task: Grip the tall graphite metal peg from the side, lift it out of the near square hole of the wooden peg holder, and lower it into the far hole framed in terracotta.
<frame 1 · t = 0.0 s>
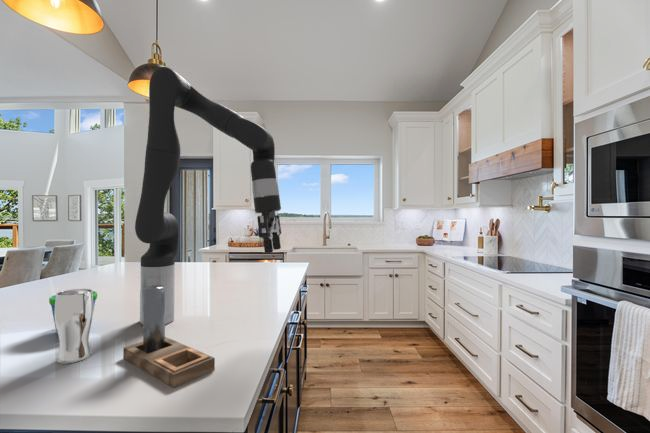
hand: (273, 250, 95), 22 cm above the countertop, tool pointing down, fingers open, 8 cm apart
metal peg: (154, 356, 75), resting in wooden peg holder
snack cup: (73, 332, 90), on the countertop
wooden peg holder: (167, 363, 71), on the countertop
beer glass: (74, 358, 74), on the countertop
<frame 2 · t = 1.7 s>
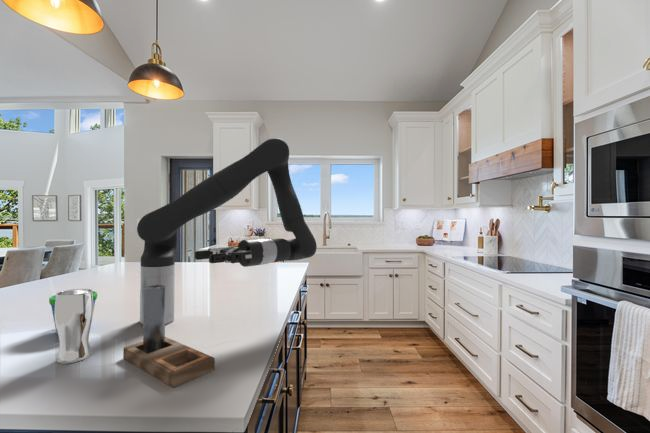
hand: (202, 257, 82), 22 cm above the countertop, tool horizontal, fingers open, 8 cm apart
nothing on the countertop moved.
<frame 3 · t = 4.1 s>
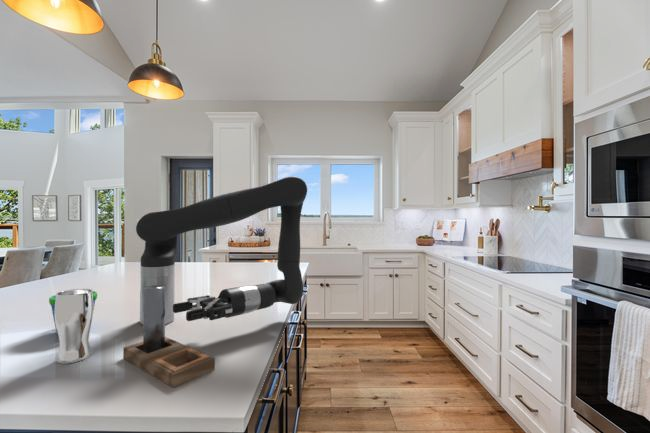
hand: (179, 312, 78), 9 cm above the countertop, tool horizontal, fingers open, 8 cm apart
nothing on the countertop moved.
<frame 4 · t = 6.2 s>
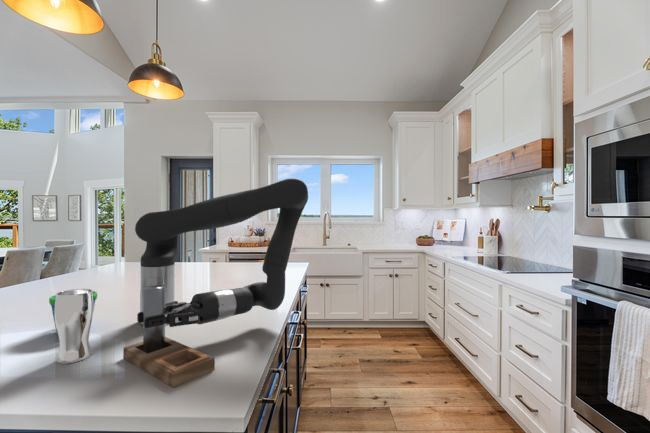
hand: (141, 320, 73), 9 cm above the countertop, tool horizontal, fingers closed on metal peg, 4 cm apart
metal peg: (154, 356, 75), resting in wooden peg holder, touching gripper
everything else where it was.
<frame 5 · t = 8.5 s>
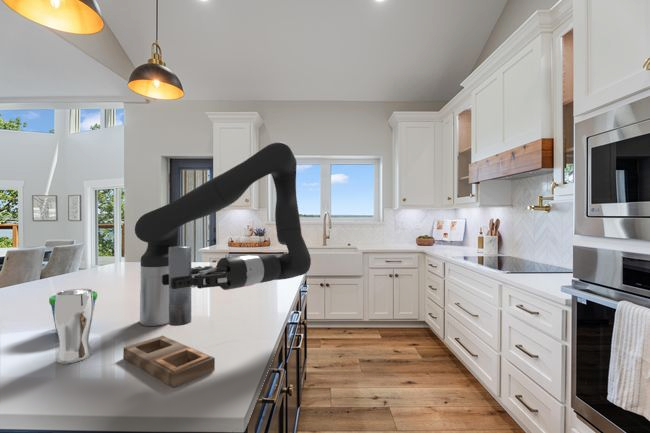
hand: (166, 281, 67), 19 cm above the countertop, tool horizontal, fingers closed on metal peg, 4 cm apart
metal peg: (180, 322, 69), point 10 cm above the countertop, touching gripper
everything else where it was.
when the fingers open (10 cm above the countertop, at t = 11.1 s): metal peg drops 1 cm, resting in wooden peg holder.
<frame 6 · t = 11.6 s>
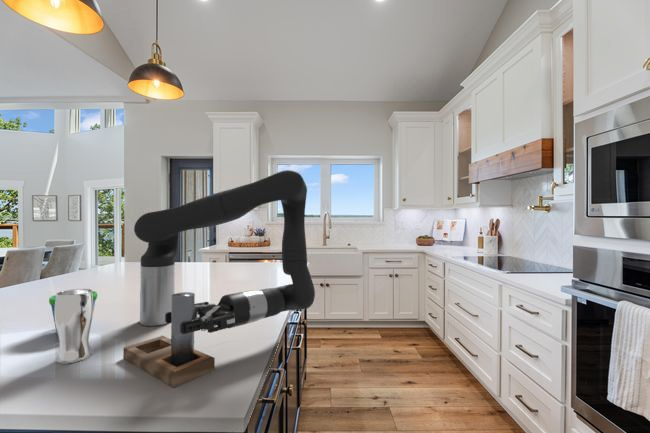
hand: (172, 323, 66), 11 cm above the countertop, tool horizontal, fingers open, 8 cm apart
metal peg: (182, 371, 68), resting in wooden peg holder
everything else where it was.
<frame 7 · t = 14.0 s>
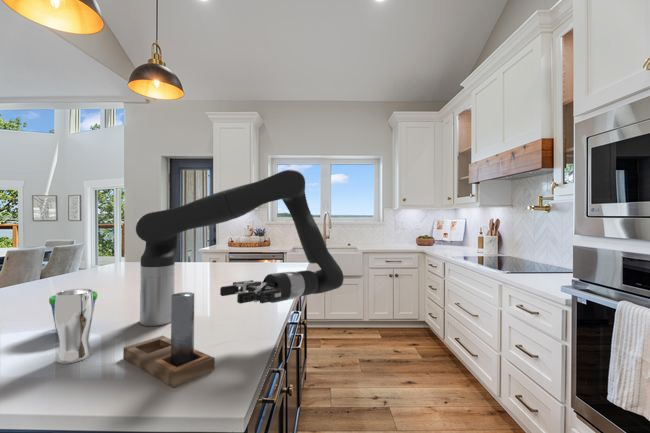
hand: (229, 295, 77), 14 cm above the countertop, tool horizontal, fingers open, 8 cm apart
nothing on the countertop moved.
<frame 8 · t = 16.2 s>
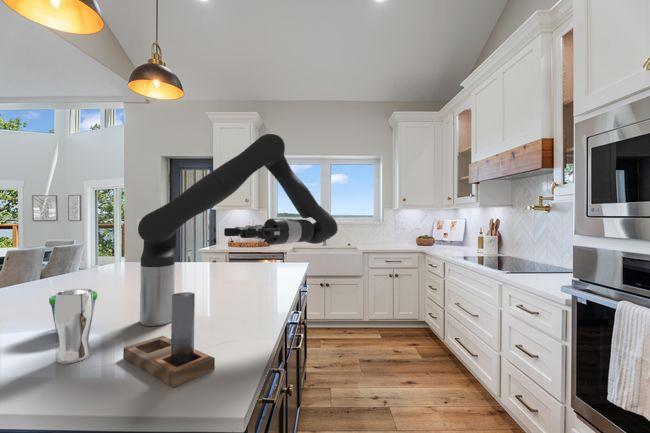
hand: (232, 233, 85), 28 cm above the countertop, tool horizontal, fingers open, 8 cm apart
nothing on the countertop moved.
at the end: metal peg 0.1 cm from the target spot on the wooden peg holder, point 0.0 cm above the wooden peg holder's base; metal peg tilted 0°; the gripper is holding nothing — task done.
